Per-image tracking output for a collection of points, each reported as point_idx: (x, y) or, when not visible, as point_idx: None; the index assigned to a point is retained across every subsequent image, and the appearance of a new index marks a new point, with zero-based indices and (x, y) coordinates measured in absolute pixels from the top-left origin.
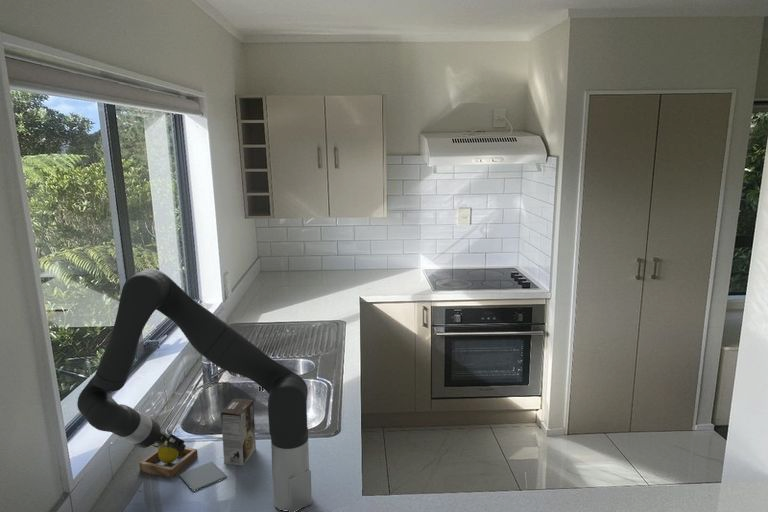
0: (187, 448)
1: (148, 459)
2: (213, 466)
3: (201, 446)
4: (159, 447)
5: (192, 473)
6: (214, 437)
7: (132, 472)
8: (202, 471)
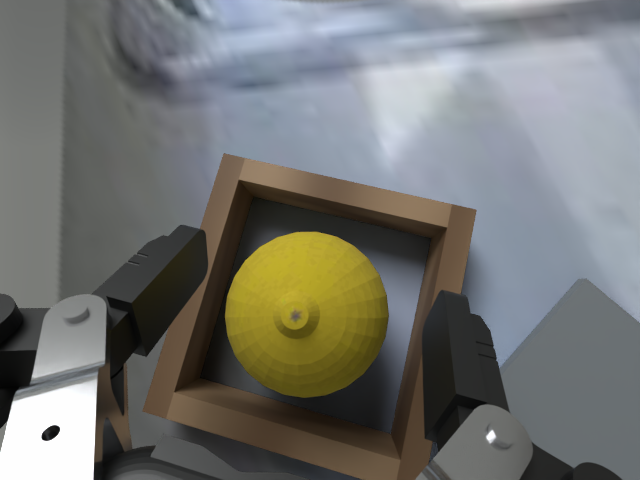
0: (401, 205)
1: (187, 353)
2: (629, 338)
3: (423, 113)
4: (246, 370)
5: (528, 428)
6: (456, 19)
7: (135, 410)
8: (585, 402)
